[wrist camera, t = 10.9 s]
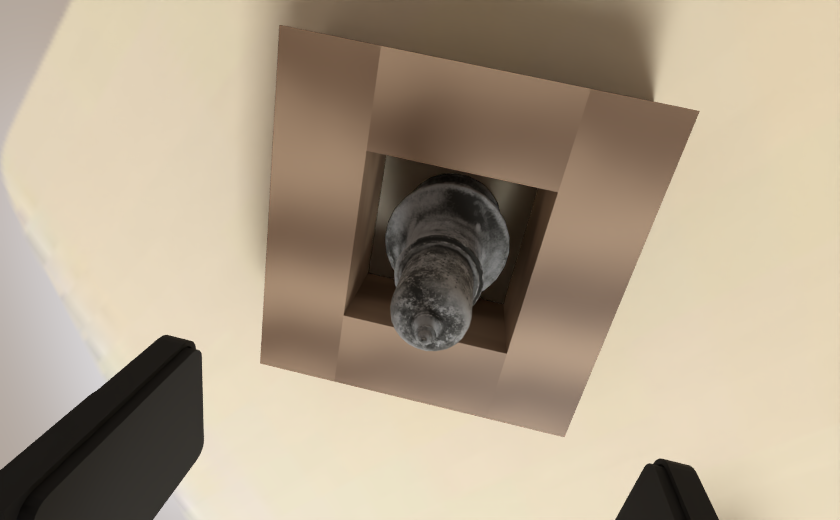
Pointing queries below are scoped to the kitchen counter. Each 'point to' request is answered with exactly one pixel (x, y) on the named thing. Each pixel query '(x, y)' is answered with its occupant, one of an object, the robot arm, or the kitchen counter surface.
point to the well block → (473, 153)
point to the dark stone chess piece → (443, 258)
